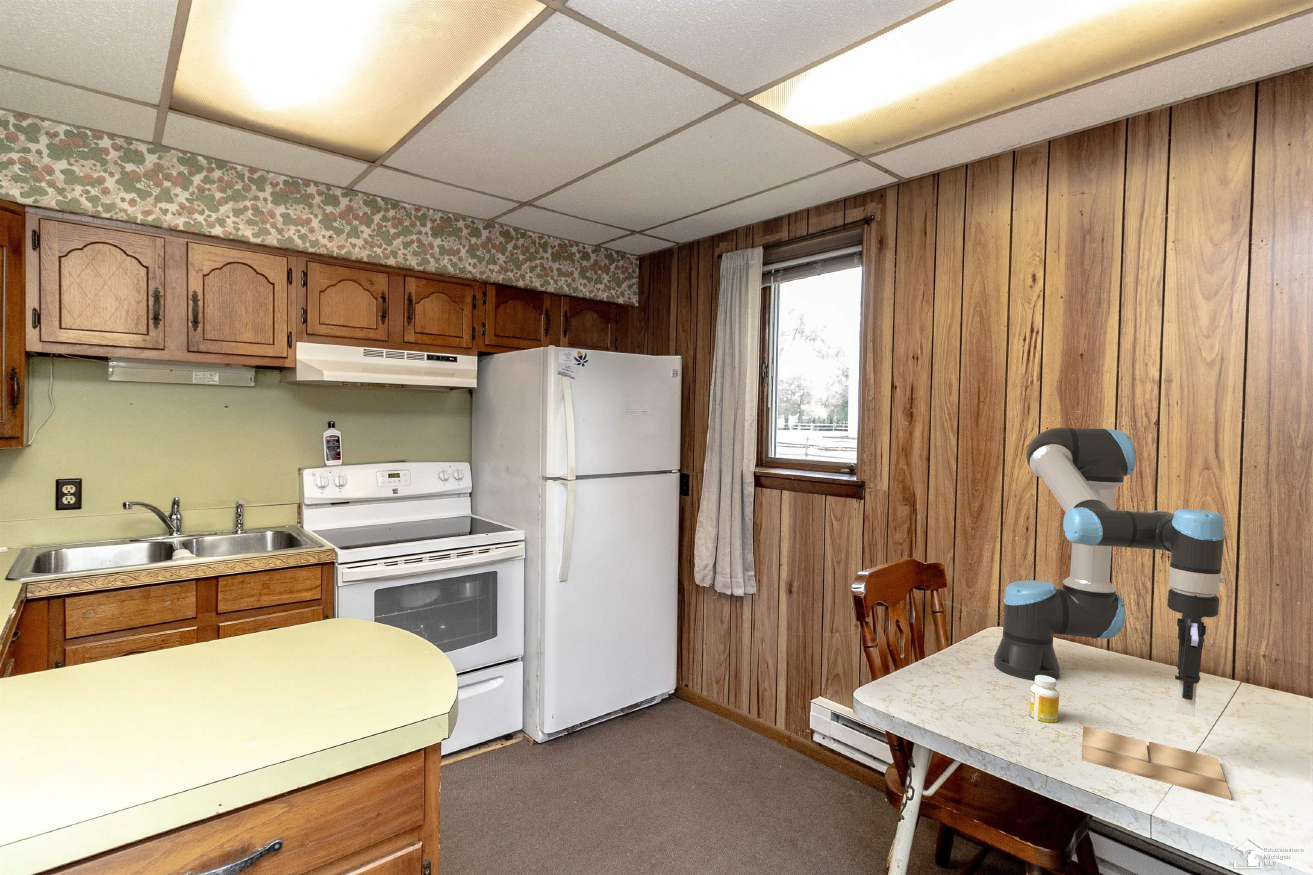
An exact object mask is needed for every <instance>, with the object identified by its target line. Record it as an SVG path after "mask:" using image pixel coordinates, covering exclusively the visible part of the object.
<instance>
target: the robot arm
mask: <svg viewBox="0 0 1313 875" xmlns="http://www.w3.org/2000/svg"><path fill="white" fill-rule="evenodd" d="M1025 455H1026V456H1025V459H1026V464H1027V466H1028V468H1030V470H1031V472H1032V473H1033V474H1034V475H1035V476H1036V477H1038V478H1040V479H1041V480H1043V482H1044V483H1045V484H1046V487H1047V488H1048V489H1049V491H1050V492H1051V493H1052V495H1053V496H1054V498H1055V500H1056V501H1057V502H1058V504H1059V505H1060V507H1061V509H1062V510H1063V511H1064V512H1065V514H1064V516H1063V522H1062V524H1063V526H1062V528H1063V531H1064V535H1065V538H1066V539H1067V540H1068V541H1069V542H1070V543H1071V552H1070V553H1071V556H1070V571H1069V573H1070V574H1069V576H1068V577H1066V578H1065V579H1063V581H1062V589H1061V588H1057V586H1056V585H1055V584H1054V583H1052V582H1050V581H1049V582H1048V581H1046V580H1045V581H1044V580H1043V581H1041V580H1032V579H1031V580H1029V579H1028V580H1018V581H1014V582H1011V583H1008V585H1006V587H1005V591H1004V599H1003V603H1004V605H1003V619H1002V620H1003V622H1002V638H1001V639H1000V642H999V645H998V646H997V648H996V652H995V654H994V657H993V665H994V667H995V668H996V669H997V670H999V671H1001V672H1002V673H1005V674H1009V675H1011V676H1014V677H1016V678H1017V677H1018V678H1021V679H1027V680H1031V681H1032V680H1033V681H1035V676H1036V675H1044V676H1049V677H1052V678H1054V679H1055V680H1056V681H1057V680H1058V679H1059V678H1060V671H1061V670H1060V665H1059V663H1058V662H1059V661H1058V658H1057V655H1056V652H1055V648H1054V636H1055V635H1061V636H1069V637H1070V636H1071V637H1073V636H1074V637H1081V638H1082V637H1083V638H1090V639H1108V640H1109V639H1112V638H1115V637H1116V636H1118V635H1119V634H1120V632H1121V631H1122V629H1123V627H1124V624H1125V621H1126V608H1125V601H1124V598H1122V596H1121V595H1119V594H1117V588H1116V587H1115V586H1114V585H1113V584H1112V583H1111V580H1110V578H1111V565H1112V562H1111V561H1112V548H1113V547H1114V548H1115V547H1116V548H1130V549H1140V550H1141V549H1145V550H1154V551H1155V550H1156V551H1157V550H1158V551H1166V552H1168V553H1170V563H1169V573H1168V584H1167V585H1168V587H1170V589H1168V593H1167V608H1168V609H1169V610H1171V611H1173V612H1176V613H1178V614H1181V615H1182V616H1181V618H1178V617H1177V618H1176V619H1177V620H1176V625H1177V639H1178V655H1177V665H1176V668H1177V670H1178V671H1177V674H1176V675H1174V680H1176V681H1177V688H1176V703H1175V711H1176V713H1177V714H1181V715H1184V716H1190V717H1193V718H1194V717H1196V704H1197V703H1196V702H1197V692H1198V691H1197V690H1198V688H1197V687H1198V684H1199V683H1200V681H1201V676H1200V673H1201V672H1200V671H1201V664H1202V663H1201V662H1202V654H1203V648H1204V643H1205V638H1204V636H1206V633H1207V626H1206V625H1205V622H1204V621H1202V618H1215V617H1217V616H1218V615H1219V611H1220V610H1219V607H1220V597H1219V596H1218V595H1219V593H1220V589H1221V586H1220V583H1221V584H1224V583H1225V581H1226V579H1225V578H1224V577H1221V576H1222V574H1221V573H1222V565H1223V557H1224V556H1223V555H1224V554H1223V553H1224V544H1225V543H1224V542H1225V538H1226V531H1225V518H1224V516H1223V514H1221V513H1219V512H1215V511H1208V510H1202V509H1192V508H1178V509H1177V510H1175V512H1174V513H1172V512H1170V511H1163V510H1162V511H1161V510H1151V511H1132V510H1130V511H1129V510H1116V509H1115V504H1116V492H1117V488H1119V487H1120V486H1122V485H1123V484H1124V477H1126V476H1130V475H1131V474H1133V472H1134V470H1135V468H1136V466H1137V465H1136V462H1137V457H1136V450H1135V445H1134V442H1133V441H1132V440H1131V437H1130V436H1129V434H1127V433H1126V432H1125V431H1122V430H1119V429H1111V428H1085V427H1084V428H1081V427H1080V428H1079V427H1053V428H1050V429H1046V430H1044V431H1042V432H1040V433H1039V434H1038V435H1036V436H1035V437H1034V438H1033V439H1032V440H1031V441H1030V443H1029V445H1028V447H1027V449H1026V453H1025ZM1176 713H1175V714H1176Z"/></svg>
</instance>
